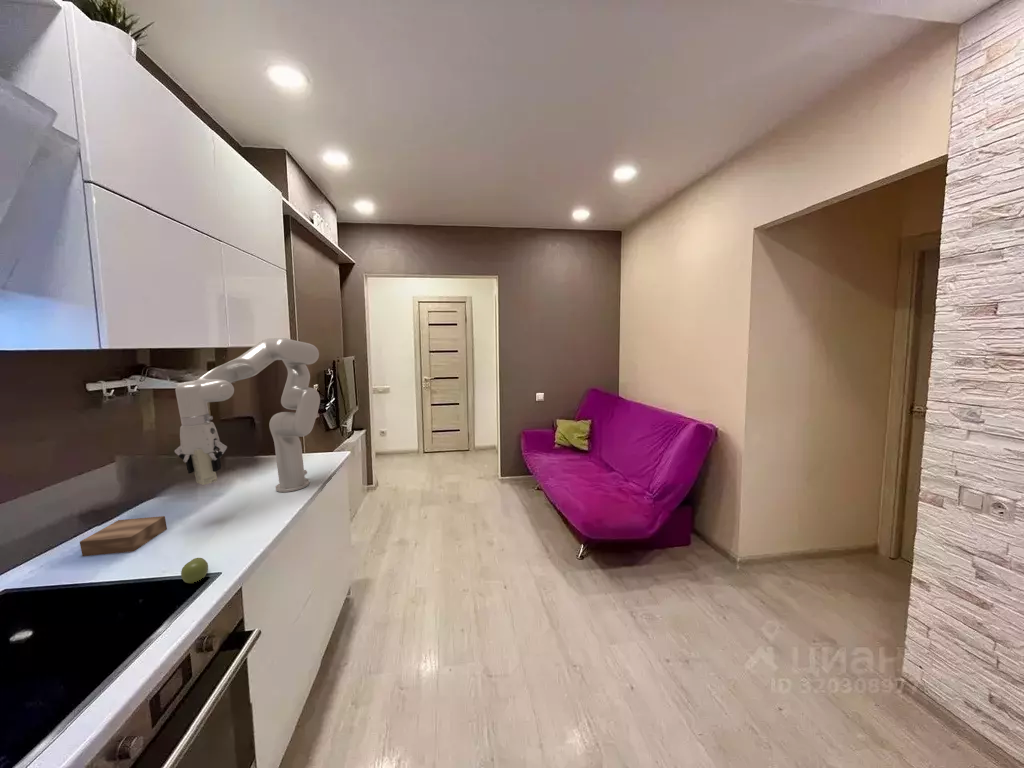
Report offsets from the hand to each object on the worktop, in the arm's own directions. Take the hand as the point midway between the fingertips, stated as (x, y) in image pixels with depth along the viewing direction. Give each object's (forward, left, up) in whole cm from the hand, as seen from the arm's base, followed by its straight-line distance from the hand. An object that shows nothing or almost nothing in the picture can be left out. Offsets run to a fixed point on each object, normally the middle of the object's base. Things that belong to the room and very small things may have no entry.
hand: (204, 470), depth 138 cm
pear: (+34, +17, -19) cm, 42 cm away
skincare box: (0, 0, -4) cm, 4 cm away
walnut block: (+11, -19, -19) cm, 29 cm away
